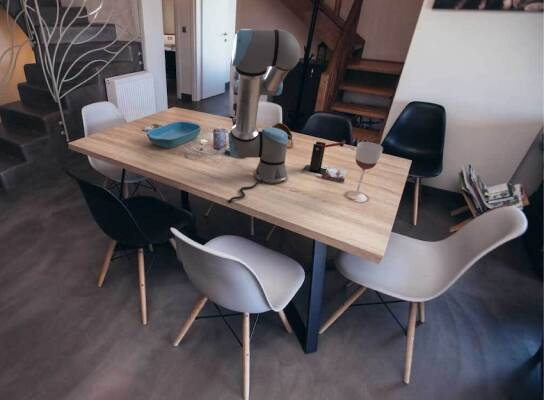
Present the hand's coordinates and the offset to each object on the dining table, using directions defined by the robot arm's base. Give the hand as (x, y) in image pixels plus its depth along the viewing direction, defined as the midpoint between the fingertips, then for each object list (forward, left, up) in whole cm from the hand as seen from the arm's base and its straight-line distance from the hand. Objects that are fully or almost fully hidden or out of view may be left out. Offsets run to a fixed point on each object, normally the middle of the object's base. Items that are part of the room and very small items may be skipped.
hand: (238, 145), depth 171 cm
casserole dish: (-3, +43, -5) cm, 43 cm away
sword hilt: (+28, -15, -5) cm, 32 cm away
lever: (0, -49, +9) cm, 50 cm away
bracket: (0, -44, -5) cm, 44 cm away
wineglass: (-15, -67, -5) cm, 69 cm away
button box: (0, 0, -5) cm, 5 cm away
